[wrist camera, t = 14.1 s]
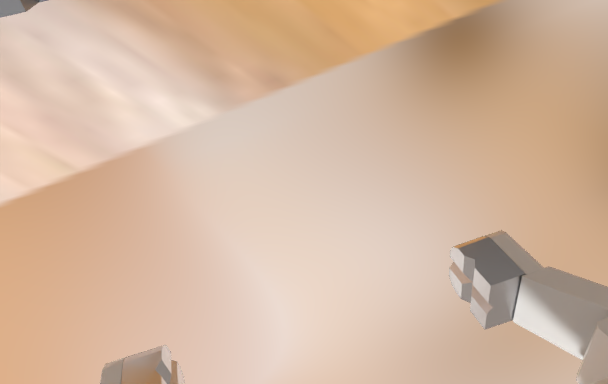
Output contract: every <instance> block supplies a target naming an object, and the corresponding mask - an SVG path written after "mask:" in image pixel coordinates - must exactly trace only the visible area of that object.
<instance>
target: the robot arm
mask: <svg viewBox="0 0 608 384" xmlns="http://www.w3.org/2000/svg"><path fill="white" fill-rule="evenodd" d="M450 257H451V259H452V260H453V261H454V262H453V264H452V265H451V267H450V268H449V269H450V271H449V276H450V279H451V283H452V286H453V287H454V289H455V291H456V292H457V294H458V295H459V297H460V298H461V299H463V300H465V301H467V302H470V303H471V307H470V311H471V313H472V314H473V315H474V316H475V318H476V319H477V320H478V322H479V323H480V324H481V325H482V327H483V328H484V329H488V328H491V327H494V326H496V325H500V324H503V323H506V322H508V321H512V320H513V322H514V323H516V324H518V325H520V326H522V327H524V328H525V329H527V330H529V331H531V332H532V333H534V334H536V335H538V336H540V337H541V338H543V339H545V340H547V341H548V342H551V343H552V344H554V345H556V346H558V347H559V348H561V349H563V350H565V351H567V352H568V353H570V354H572V355H574V356H576V357H578V358H579V359H581V360H582V363H581V366H580V368H579V370H578V373H577V377H576V381H577V382H578V383H579V384H608V287H607V286H604V285H601V284H598V283H595V282H592V281H589V280H586V279H584V278H581V277H578V276H575V275H572V274H569V273H566V272H564V271H561V270H558V269H555V268H552V267H546V268H544V267H543V266H542V265H541V264H539V263H538V262H537V261H536V260H535V259H534V258H533V257H532V256H531V255H530V254H529V253H528V252H526V251H525V250H524V249H523V248H522V247H521V246H520V245H519V244H518V243H517V242H516V241H515V240H514V239H512V238H511V237H510V236H509V235H508V234H507V233H506V232H504V231H502V230H501V231H498V232H495V233H492V234H489V235H486V236H482V237H479V238H476V239H474V240H471V241H468V242H465V243H462V244H459V245H457V246H454V247H452V249H451V250H450ZM100 384H185V382H184V377H183V373H182V371H181V368H180V366H179V364H178V363H177V362H176V361H173V360H171V351H170V350H169V349H168V347H167V346H166V345H164V346H160V347H157V348H154V349H151V350H148V351H144V352H141V353H138V354H134V355H131V356H128V357H125V358H122V359H119V360H116V361H113V362H110V363H107V364H105V366H104V368H103V370H102V375H101V383H100Z"/></svg>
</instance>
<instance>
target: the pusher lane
mask: <svg viewBox="0 0 608 384" xmlns="http://www.w3.org/2000/svg"><path fill="white" fill-rule="evenodd" d="M43 1H47V0H0V17H5V16H9V15H13V14H18V13H22V12H26V11H28V10H29V9H30V8H32V7H33V6H34V5H36V4H37V3H38V2H43Z"/></svg>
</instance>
